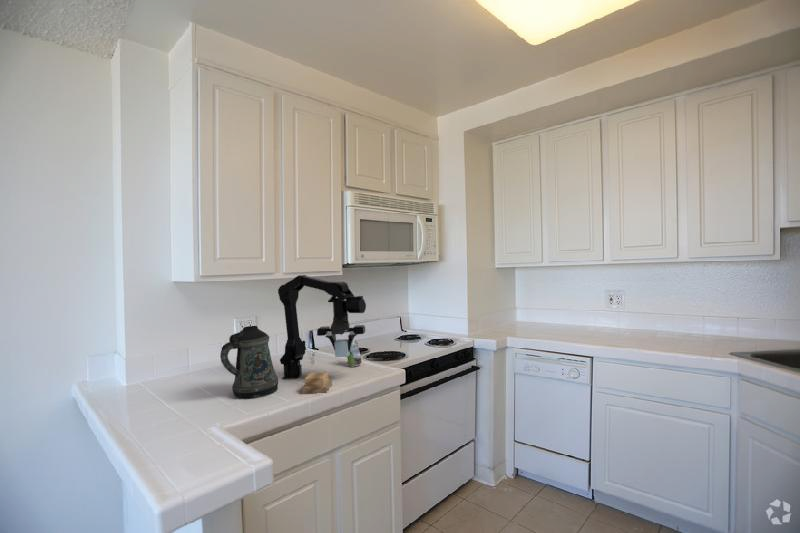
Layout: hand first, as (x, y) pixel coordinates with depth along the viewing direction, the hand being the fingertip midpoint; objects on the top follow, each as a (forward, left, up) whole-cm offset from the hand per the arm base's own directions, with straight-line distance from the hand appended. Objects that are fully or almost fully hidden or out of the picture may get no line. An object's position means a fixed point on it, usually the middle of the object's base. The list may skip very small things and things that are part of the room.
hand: (342, 351), depth 153 cm
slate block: (0, 0, -2) cm, 2 cm away
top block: (-8, -10, -10) cm, 16 cm away
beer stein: (-32, -12, -12) cm, 36 cm away
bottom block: (-8, -10, -12) cm, 18 cm away
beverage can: (0, +22, -12) cm, 25 cm away
